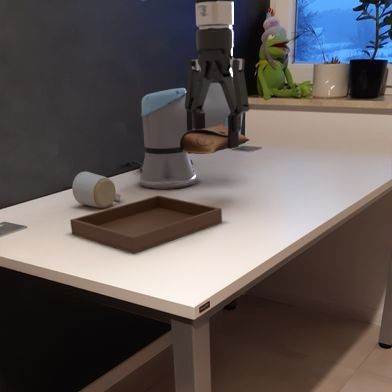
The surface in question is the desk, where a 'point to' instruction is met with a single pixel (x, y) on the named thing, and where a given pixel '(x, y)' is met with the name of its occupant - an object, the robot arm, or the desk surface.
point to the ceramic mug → (94, 190)
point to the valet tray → (145, 223)
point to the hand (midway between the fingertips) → (216, 145)
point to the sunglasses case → (207, 140)
